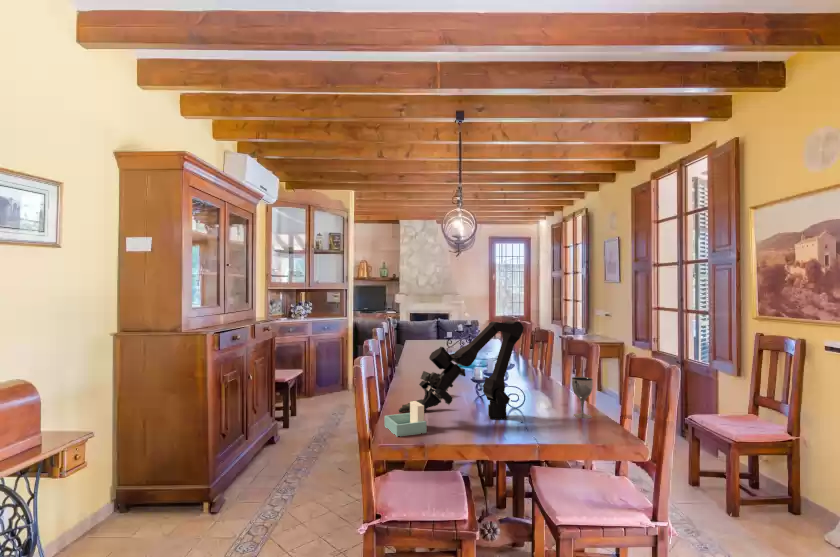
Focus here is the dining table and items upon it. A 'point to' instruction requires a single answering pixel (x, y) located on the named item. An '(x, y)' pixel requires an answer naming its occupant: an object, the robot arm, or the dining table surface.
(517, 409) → the dining table surface
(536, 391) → the dining table surface
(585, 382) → the wine glass
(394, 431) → the box
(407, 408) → the statue
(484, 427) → the dining table surface
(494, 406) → the robot arm
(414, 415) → the bookend
